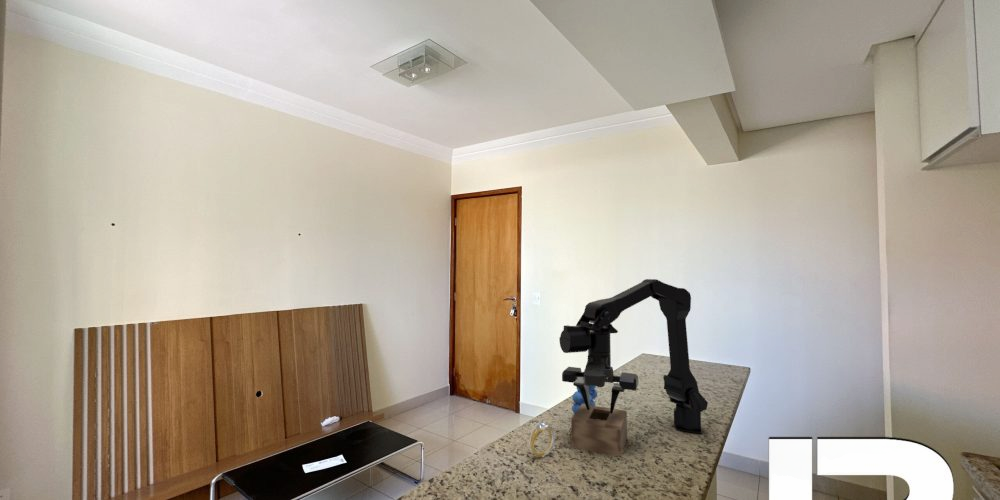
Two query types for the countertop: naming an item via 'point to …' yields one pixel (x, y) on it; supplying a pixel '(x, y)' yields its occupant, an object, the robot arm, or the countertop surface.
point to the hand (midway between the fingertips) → (599, 411)
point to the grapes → (579, 398)
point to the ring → (534, 436)
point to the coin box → (599, 430)
